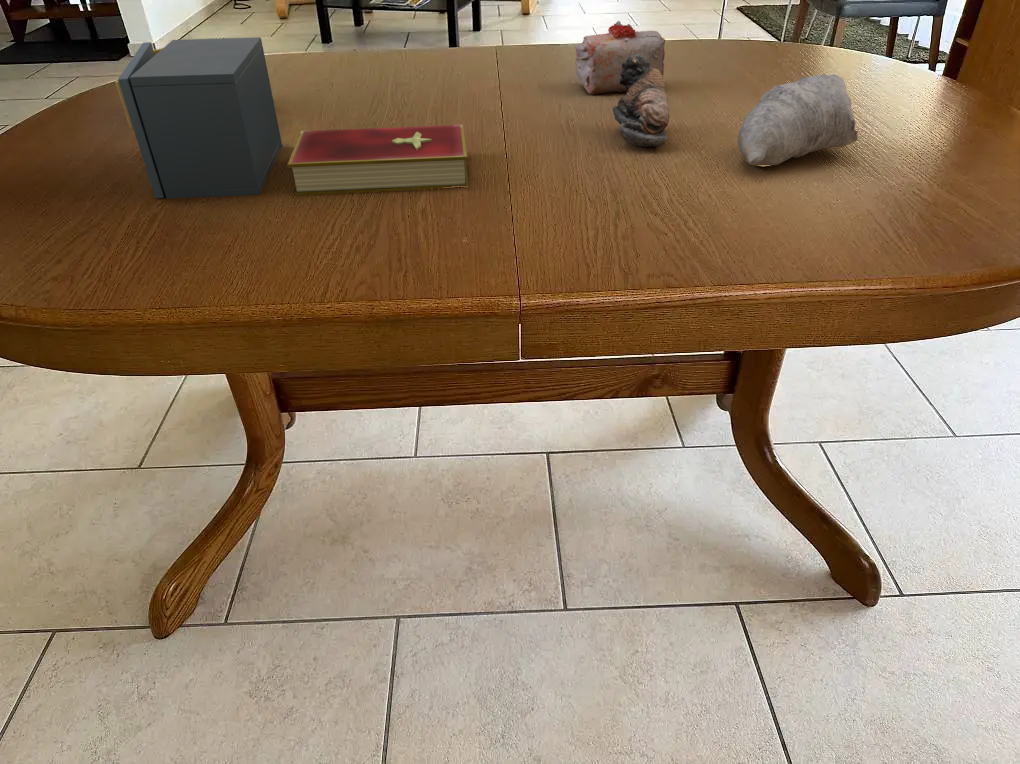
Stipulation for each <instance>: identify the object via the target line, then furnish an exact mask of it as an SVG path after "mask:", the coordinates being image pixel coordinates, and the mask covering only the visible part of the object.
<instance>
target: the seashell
mask: <svg viewBox="0 0 1020 764" xmlns="http://www.w3.org/2000/svg"><path fill="white" fill-rule="evenodd" d="M855 127H856V119H855V117H854V111H853V110H852V98H851V97H850V95H849V94H848V91H847V86H846V83H845V80H844V78H843V77H841V76H840V75H838V74H835V73H833V74H825V73H823V74H817V75H813V76H810V75H809V76H806V77H805V76H804V77H800V78H799V79H798V80H796V82H787V83H784V84H779V85H775V86H773V87H771V89H769V90H768V91H766V92H765V93H764V94H763V95H762V96H761V98H760V100H758V102H757V103H756V104H755V107H754V108H752V109H751V110H750V111H749V112H748V113H747V114H746V115H745V118H744V120H743V123H742V124H741V125H740V128H739V132H738V134H737V135H738V136H737V148H738V150H739V152H740V155H741V156H742V158H743V159H744V160H745V161H746V162H747V163H748V164H749V165H750V166H755V167H757V166H756V165H774V166H779V165H781V164H782V163H784V162H785V161H788V160H789V159H792V158H791V157H796V158H801V157H803V156H806V155H807V154H810V153H813V152H817V151H820V150H823V149H833V148H843V147H845V146H848V145H851V144H853V143H856V142H857V141H858V139H859V138H858V132H859V131H858V130H856V128H855ZM808 152H810V153H808ZM800 156H801V157H800Z"/></svg>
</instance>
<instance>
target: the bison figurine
mask: <svg viewBox="0 0 1020 764" xmlns="http://www.w3.org/2000/svg"><path fill="white" fill-rule="evenodd" d="M620 75H621V76H622V77H621V78H620V82H619V84H620V85H624V86H626V91H625V94H624V95H622V96H621V97H620V98H619V100H618V102H617V105H615V106H612V113H613V116H614V117H613V118H614V120H615V121H616V122H618V124H619V125H620V126H619V129H620V134H621V135H623V137H625V138H626V141H627V142H628V143H630V144H632V145H634V146H635V145H636V146H640V147H646V148H647V147H648V148H652V147H660V146H662V145H664V144H665V143H666V142H667V140H668V135H667V133H668V132H667V130H666V128H667V127H668V126H669V120H670V107H669V105H668V104H669V103H668V102H669V99H668V94H667V87H666V81H665V79H664V75H663V76H662V75H661V73H660V71H659V70H658V69H655V68H651V65H650V62H649V60H648V59H647V58H646V57H645V56H644V55H642V54H633V53H632V52H631V55H630V56H629V57H628V58H627V61H626V62H623V63H622V70H621V72H620Z"/></svg>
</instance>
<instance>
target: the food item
mask: <svg viewBox="0 0 1020 764" xmlns="http://www.w3.org/2000/svg"><path fill="white" fill-rule="evenodd" d="M665 45H666V38H664V37H662V35H661V33H659V31H657V30H641V31H638V30H637V31H636V29H634V27H633V26H632V25H631V24H630V23H628V24H625V25H624V24H621V21H620V20H618V21H616V22H615V23H613V25H611V26H609V27H608V29H607V33H600V34H591V35H585V36H583V40H582V42H581V43H578V44H577V45H576V46H575V47H574V48H575V75H576V77H577V79H578V82H579V83H580V85H582V86H583V88H584V89H585V90H586V92H587V93H588V94H589V95H599V94H610V93H621V92H626V86H624V85H620V84H619V82H620V78H621V77H622V76H621V75H620V72H621V70H622V63H623V62H626V61H627V58H628V57H629V56H630V55H631V52H632V53H633V54H642V55H644V56H645V57H646V58H647V59H648V60H649V62H650V65H651V68H655V69H658V70H659V71H660V73H661V75H662V76H663V77H664V69H665V63H664V61H665V57H666V56H665V54H666V52H665Z"/></svg>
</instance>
